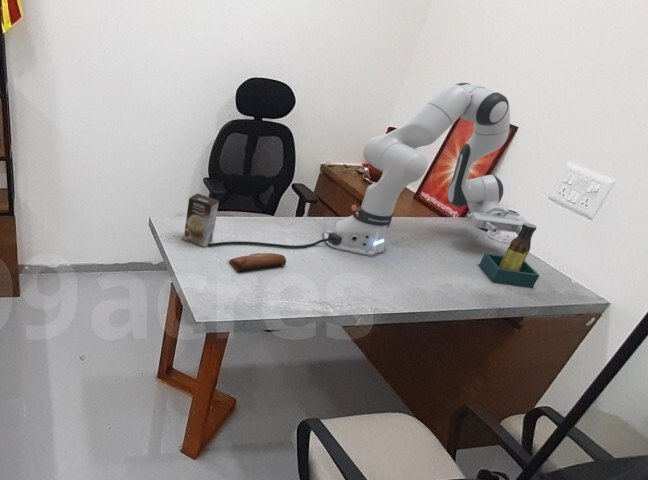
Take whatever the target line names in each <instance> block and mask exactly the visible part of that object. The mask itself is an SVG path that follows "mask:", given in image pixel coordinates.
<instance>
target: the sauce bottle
mask: <svg viewBox="0 0 648 480" xmlns="http://www.w3.org/2000/svg"><path fill="white" fill-rule="evenodd" d="M529 223H530V222H529ZM529 223H524V224H523V226H522V229H521V231H520V233H519V235H517V236H516V237H514V238H513V239H511V242H510V243H509V246H508V247H507V249H506V251H505V253H504V255H503V256H504V257H503V259H502V262H501V264H500V266H499V268H500V269H504V270H511V271H518V272H519V271H520V269H521V267H522V265H523V263H524V261H526V259H527V257H528V254H529V252H530V250H531V246H532V245H531V243H532V237H533V235H534V232H536V230H537V229H538V226H537V225H535V224H532V223H530V224H529Z"/></svg>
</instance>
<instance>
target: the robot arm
mask: <svg viewBox="0 0 648 480" xmlns="http://www.w3.org/2000/svg"><path fill="white" fill-rule="evenodd" d="M459 118H461V119H463V120H465V121H467V122H470V123H473V129H472V134H471V136H470V138H469V139H468V141H467V142H465V144H464V145H462V147H461V149H460V150H459V154H458V156H457V159H456V164H455V167H454V172H453V175H452V179H451V181H450V184H449V185H448V188H447V193H446V194H447V201H448V202H449V204H451V205H452V206H454V207H457V208H461V207H466V206H467V207H468V210H469V213H467V214H466V217H467V218H468V219H469V220H468V221H469V224H470V226H472V227H473V228H479V229H485V230H489V231H490V232H491V233H496V232H497V231H500V232H501V231H502V232H508V233H509V232H510V233H515V234H516V235H517V236H518V235H519V233H520V231H521V229H522V226H523V224H524V223H529V224H531V223H530V222H529V221H528V220H527V219H525V218H524V217H523V216H521V213H520V212H518V211H515V210H512V209H507V208H506V207H503V206H501V205H500V204H499V203H500V202H501V200H502V199H503V197H504V184H503V182H502V181H501V180H500V178H499V177H497V176H496V175H495V174H488V175H487V174H486V175H482V176H478V177H475V178H470V179H468V177H469V173H470V170H471V167H473V165H474V164H475V163H476V162H477V161H479V160H481V159H482V158H484V157H486V156H488V155H490V154H492V153H494V152H497V151H498V150H499V149H500V148H502V147H503V146H504V145H505V143H506V141H507V140H508V137H509V132H510V125H511V105H510V101H509V100H508V98H507V97H506V96H505V95H503V94H502V93H500V92H497V91H495V90H491V89H489V88H486V87H485V86H481V85H476V84H471V83H469V82H459V83H455V84H451V85H449V86H447V87H445V88H444V89H443V90H441V91H440V92H439V93H437V94H435V96H434V97H433V98H432V99H430V100H429V101H428V102H427V103H426V104H425V105H424V106H423V107H422V108H421V109H420V110H418V112H416V114H414V115H413V116H412V117H411V118H410V119H409V120H407V121H406V122H405V123H404V124H402V125H401V126H399V127H397V128H395V129H394V130H392V131H389V132H387V133H385V134H382V135H377V136H374V137H372V138H370V139H369V140H368V141H367V142H366V144H365V145H364V148H363V151H362V152H363V153H362V154H363V158H364V159H365V161H366V162H367V163H368V164H369V165H370V166H371V167H373V168H375V169H376V170H378V171H380V172H382V174H381V176H380V178H379V180H378V181H376V182H373V183H371V184H370V185H368V186H367V188H366V190H365V193H364V196H363V200H362V203H361V205H360V206H357V205H356V204H352V205H351V211H353V213H352V215H349V216H346V217H344V218H342V219H339V220H337V221H335V223H334V225H333V226H332V228H331V230H329V229H328V230H326V231H325V232H324V233H323V238H322V239H320V240H317V241H315V242H312V243H308V244H300V245H290V244H280V243H268V242H261V241H259V242H258V241H239V240H238V241H237V240H236V241H235V240H234V241H233V240H232V241H219V242H211V243H209V244H208V245H207V246H208V247H215V246H223V245H224V246H225V245H253V246H254V245H255V246H265V247H266V246H267V247H279V248H285V249H286V248H287V249H304V248H305V249H306V248H310V247H315V246H317V245H318V244H321V243H324V242H325V243H326V244H327V245H328V246H329V247H331V248H333V249H336V250H337V249H338V250H341V251H346V252H351V253H355V254H360V255H364V256H367V257H368V256H369V257H373V256H375V255H376V254H380V253H383V252H384V251H385V245H386V236H387V232H388V229H389V228H390V225H391V223H392V221H393V216H394V215H393V214H394V213H393V212H394V210H395V207H396V205H397V202H398V199H399V197H400V195H401V194H402V192H403V191H404V190H405V188H406V187H407V186H409V185H410V184H412V183H415V182H417V181H419V180H420V179H421V178H422V177H423V176H424V175H425V173H426V171H427V169H428V159H427V158H426V156H424V154H422V153H421V152H420V151H419V150H418V148H421V147H426V146H429V145H432V144H433V143H435V142H436V141H437V140H438V139H439V138H441V136H442V135H443V134H444V133H446V131H447V130H448V129H450V128H451V127H452V125H454V124H455V122H457V120H459Z"/></svg>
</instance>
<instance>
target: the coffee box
mask: <svg viewBox="0 0 648 480" xmlns="http://www.w3.org/2000/svg"><path fill="white" fill-rule="evenodd" d="M219 204H220V200H219V199H216V198H213V197H209V196H207V195H204V194H201V193H195V194H194V195H192V196H191V197H189V198H188V203H187V212H186V219H185V225H184V234H183V240H184V241H187V242H190V243H192V244H195V245H198V246H200V247H203V248H205V247H207V246H208V244H211V243H213V238H214V233H215V227H216V220H217V217H218V216H217V215H218V208H219Z"/></svg>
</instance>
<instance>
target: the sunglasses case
mask: <svg viewBox="0 0 648 480" xmlns="http://www.w3.org/2000/svg"><path fill="white" fill-rule="evenodd" d="M229 264H230V265H231V266H232V267H233V268H234V270H235V271H236V272H237V273H240V272H245V271H249V270H255V269H260V268H269V267H277V266H286V265H287V258H286V256H285V255H283V254H278V253H273V252H262V253H261V252H257V253H250V254H249V255H244V256H238V257H234V258H231V259H229Z"/></svg>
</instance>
